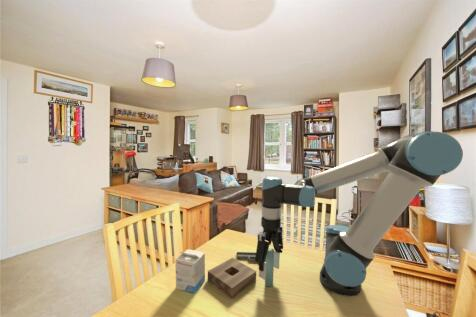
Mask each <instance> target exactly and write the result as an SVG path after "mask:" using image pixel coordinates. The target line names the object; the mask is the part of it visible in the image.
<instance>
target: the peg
mask: <svg viewBox="0 0 476 317" xmlns="http://www.w3.org/2000/svg"><path fill="white" fill-rule="evenodd" d="M274 251H275V250H274V248H271V247H269V248H268V252H267V256H266V279H265V280H264V285H265V286H266V287H268V288H271V287H273V286H274V271H275V270H274V269H275V267H274Z"/></svg>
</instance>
